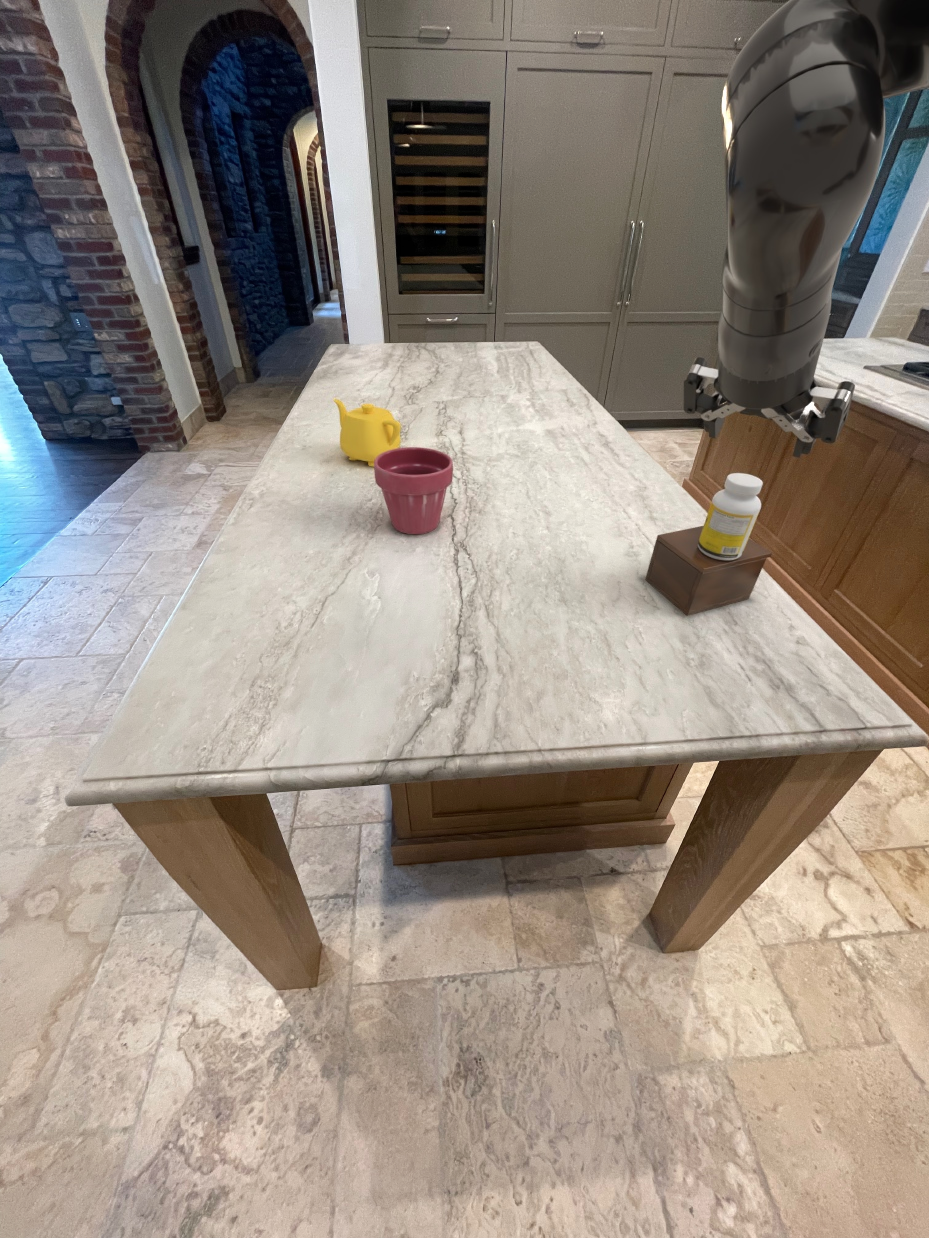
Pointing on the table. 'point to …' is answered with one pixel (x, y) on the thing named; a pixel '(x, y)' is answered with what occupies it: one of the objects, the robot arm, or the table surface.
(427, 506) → the flower pot
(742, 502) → the pill bottle
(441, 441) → the table surface
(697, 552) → the lid
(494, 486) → the table surface
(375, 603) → the table surface
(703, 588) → the box
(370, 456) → the teapot
